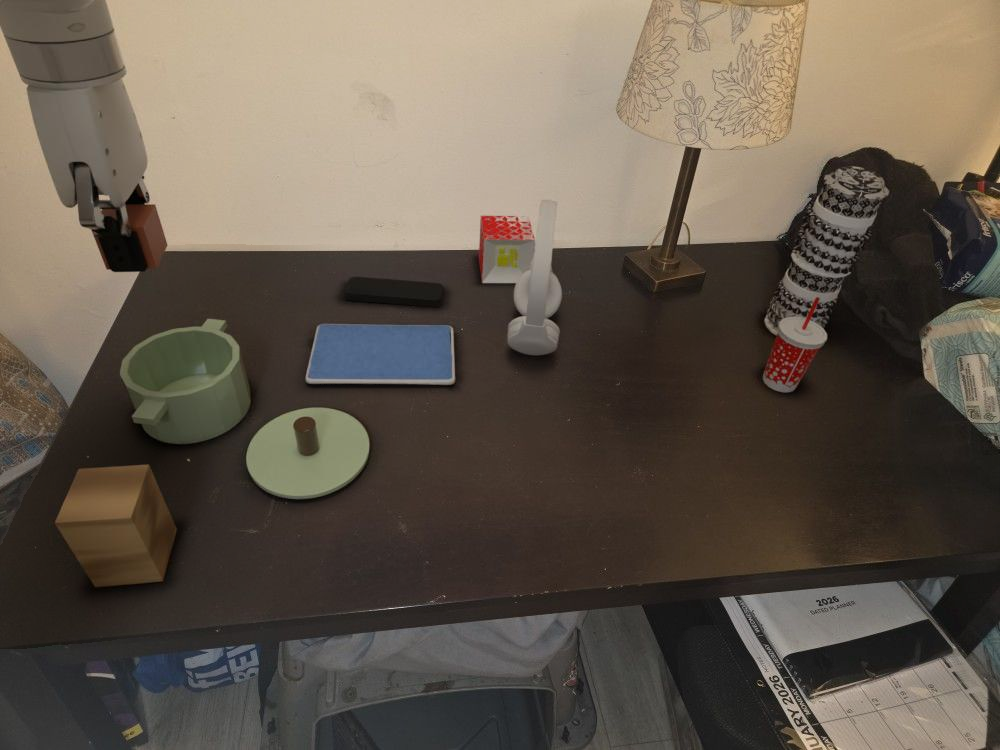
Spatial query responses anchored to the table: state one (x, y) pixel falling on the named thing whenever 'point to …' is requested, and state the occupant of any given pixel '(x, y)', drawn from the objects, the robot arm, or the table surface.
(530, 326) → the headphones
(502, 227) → the red and white cube
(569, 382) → the table surface
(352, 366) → the tablet
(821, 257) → the white patterned cylinder
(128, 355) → the light green round pot
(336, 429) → the lid
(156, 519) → the block
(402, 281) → the remote control
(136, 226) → the block
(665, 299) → the table surface
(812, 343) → the beverage cup
